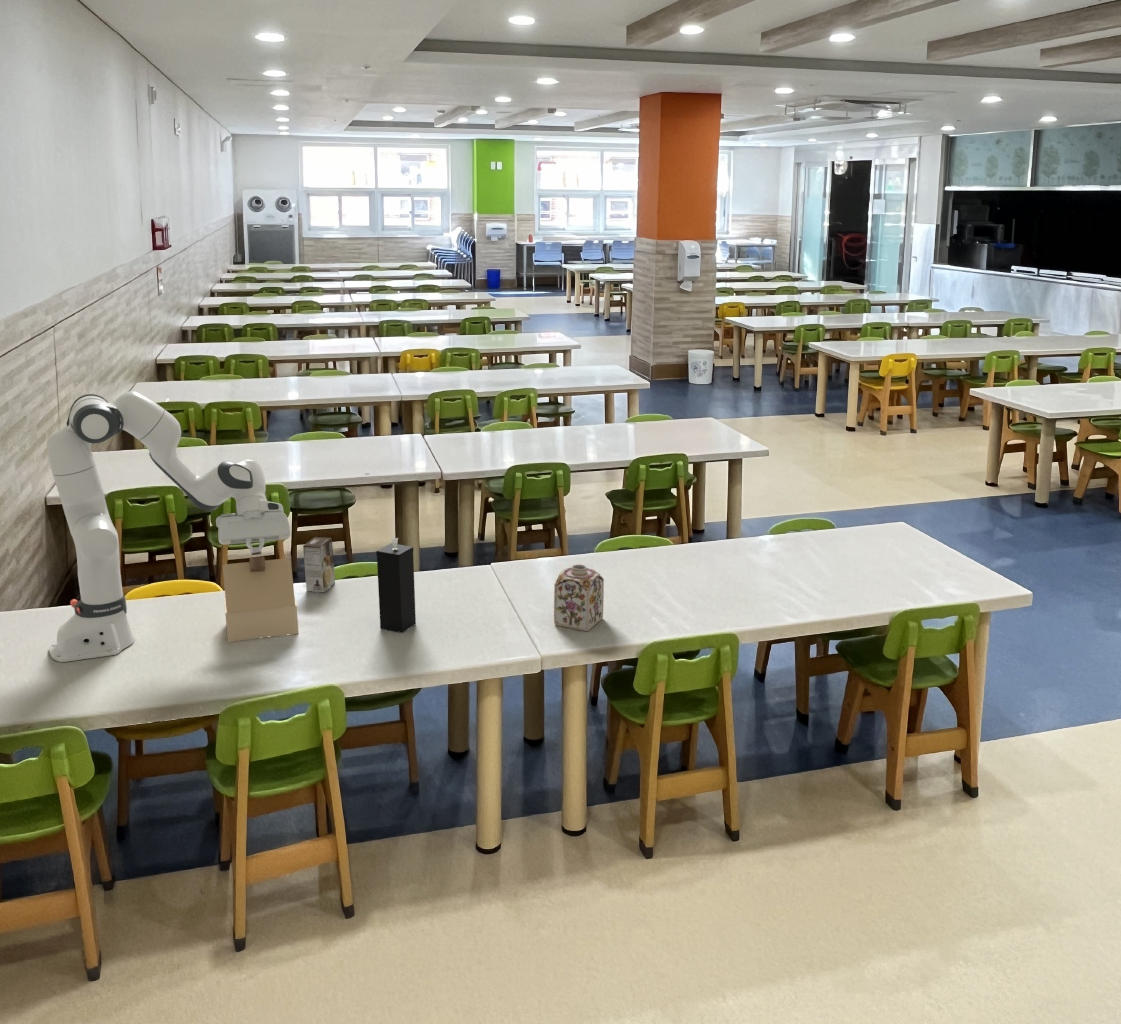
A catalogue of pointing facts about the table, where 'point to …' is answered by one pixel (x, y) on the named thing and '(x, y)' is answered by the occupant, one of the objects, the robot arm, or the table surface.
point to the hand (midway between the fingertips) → (256, 554)
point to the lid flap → (258, 584)
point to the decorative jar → (578, 598)
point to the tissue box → (396, 587)
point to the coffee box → (319, 564)
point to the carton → (261, 623)
